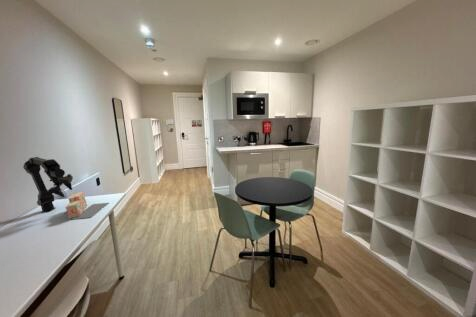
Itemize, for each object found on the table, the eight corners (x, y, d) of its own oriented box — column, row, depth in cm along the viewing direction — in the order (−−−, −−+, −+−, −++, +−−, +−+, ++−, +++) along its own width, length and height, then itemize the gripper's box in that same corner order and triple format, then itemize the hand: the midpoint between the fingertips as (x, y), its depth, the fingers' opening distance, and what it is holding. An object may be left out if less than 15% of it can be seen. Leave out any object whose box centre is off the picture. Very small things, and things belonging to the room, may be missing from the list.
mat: (71, 219, 140) (71, 219, 140) (92, 204, 163) (92, 204, 163) (90, 217, 141) (90, 217, 141) (109, 203, 164) (109, 202, 164)
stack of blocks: (79, 216, 143) (74, 200, 140) (68, 218, 140) (63, 203, 138) (87, 205, 162) (83, 191, 159) (78, 207, 160) (73, 193, 157)
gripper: (56, 180, 136) (70, 197, 143) (73, 167, 153) (85, 183, 160) (40, 184, 136) (55, 202, 143) (59, 171, 153) (71, 187, 160)
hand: (67, 193), depth 151 cm, fingers open, 9 cm apart
